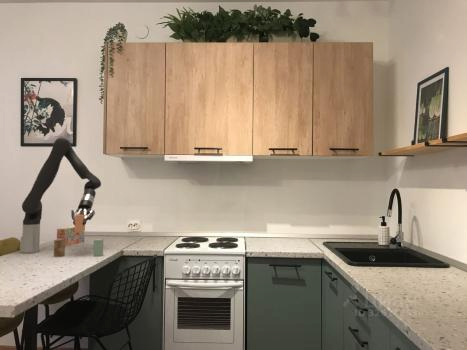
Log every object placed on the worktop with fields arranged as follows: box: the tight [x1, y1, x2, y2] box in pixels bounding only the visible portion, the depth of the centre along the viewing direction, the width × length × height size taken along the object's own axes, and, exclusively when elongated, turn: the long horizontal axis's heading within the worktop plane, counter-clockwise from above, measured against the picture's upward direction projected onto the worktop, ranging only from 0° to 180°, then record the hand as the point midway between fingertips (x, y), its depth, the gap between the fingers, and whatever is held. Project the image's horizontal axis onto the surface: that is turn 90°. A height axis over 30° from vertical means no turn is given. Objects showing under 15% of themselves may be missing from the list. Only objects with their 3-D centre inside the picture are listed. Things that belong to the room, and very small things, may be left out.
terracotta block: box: [74, 214, 86, 232], centre depth 190 cm, size 4×4×10 cm
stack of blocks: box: [56, 226, 85, 248], centre depth 227 cm, size 21×6×12 cm, turn 170°
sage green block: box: [92, 238, 104, 257], centre depth 191 cm, size 4×4×10 cm
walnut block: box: [53, 238, 66, 258], centre depth 188 cm, size 4×4×10 cm
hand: (78, 224), depth 188 cm, fingers closed on terracotta block, 4 cm apart
